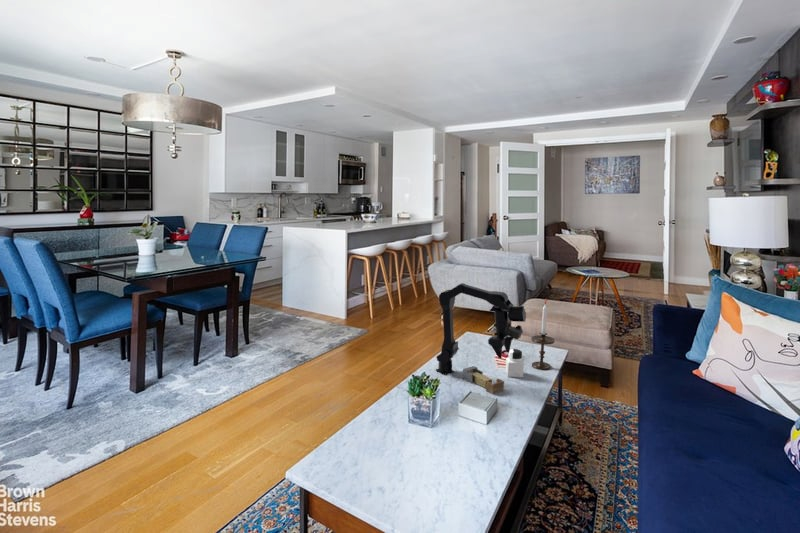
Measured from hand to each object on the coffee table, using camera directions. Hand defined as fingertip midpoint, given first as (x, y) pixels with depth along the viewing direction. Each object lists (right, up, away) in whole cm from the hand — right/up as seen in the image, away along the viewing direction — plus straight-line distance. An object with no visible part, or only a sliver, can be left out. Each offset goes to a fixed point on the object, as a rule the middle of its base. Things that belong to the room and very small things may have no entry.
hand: (504, 355), depth 195 cm
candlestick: (+24, -11, +23) cm, 35 cm away
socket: (-5, -14, -5) cm, 16 cm away
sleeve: (-13, -13, +6) cm, 19 cm away
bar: (-11, -13, +3) cm, 17 cm away
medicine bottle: (+8, -12, +13) cm, 19 cm away
